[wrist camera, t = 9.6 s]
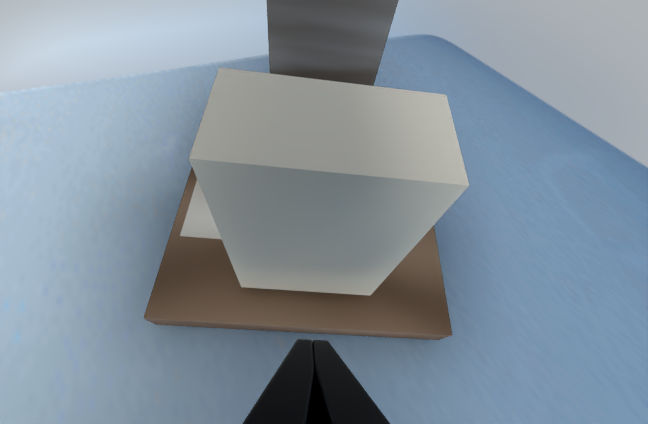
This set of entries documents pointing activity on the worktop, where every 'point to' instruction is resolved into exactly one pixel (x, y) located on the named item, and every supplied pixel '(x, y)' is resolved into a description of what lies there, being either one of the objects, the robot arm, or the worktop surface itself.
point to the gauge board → (286, 305)
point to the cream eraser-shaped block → (323, 177)
